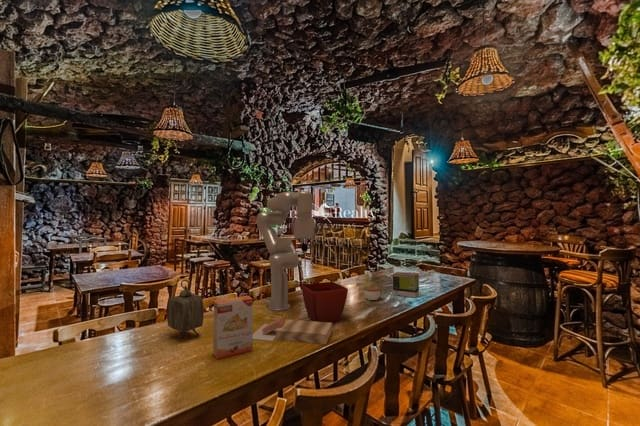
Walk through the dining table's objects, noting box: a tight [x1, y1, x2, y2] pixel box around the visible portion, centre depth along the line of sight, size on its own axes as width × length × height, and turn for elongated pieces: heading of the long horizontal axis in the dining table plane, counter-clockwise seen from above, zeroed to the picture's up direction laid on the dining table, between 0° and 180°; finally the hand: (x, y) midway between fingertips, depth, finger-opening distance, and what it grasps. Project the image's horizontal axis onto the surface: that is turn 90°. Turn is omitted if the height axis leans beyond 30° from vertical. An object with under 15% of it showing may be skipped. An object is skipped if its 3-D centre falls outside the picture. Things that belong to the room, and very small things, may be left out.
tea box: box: [392, 271, 420, 299], centre depth 201 cm, size 15×10×15 cm, turn 58°
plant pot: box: [300, 281, 349, 323], centre depth 155 cm, size 19×19×17 cm
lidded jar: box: [363, 284, 381, 301], centre depth 190 cm, size 11×11×9 cm
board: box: [275, 318, 333, 345], centre depth 133 cm, size 22×14×4 cm, turn 78°
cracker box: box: [212, 295, 254, 360], centre depth 117 cm, size 14×6×21 cm, turn 122°
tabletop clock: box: [166, 279, 205, 339], centre depth 133 cm, size 14×9×25 cm, turn 56°
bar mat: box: [253, 323, 278, 342], centre depth 137 cm, size 11×18×1 cm, turn 168°
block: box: [262, 316, 286, 335], centre depth 135 cm, size 9×6×2 cm, turn 78°
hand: (304, 251), depth 152 cm, fingers closed
